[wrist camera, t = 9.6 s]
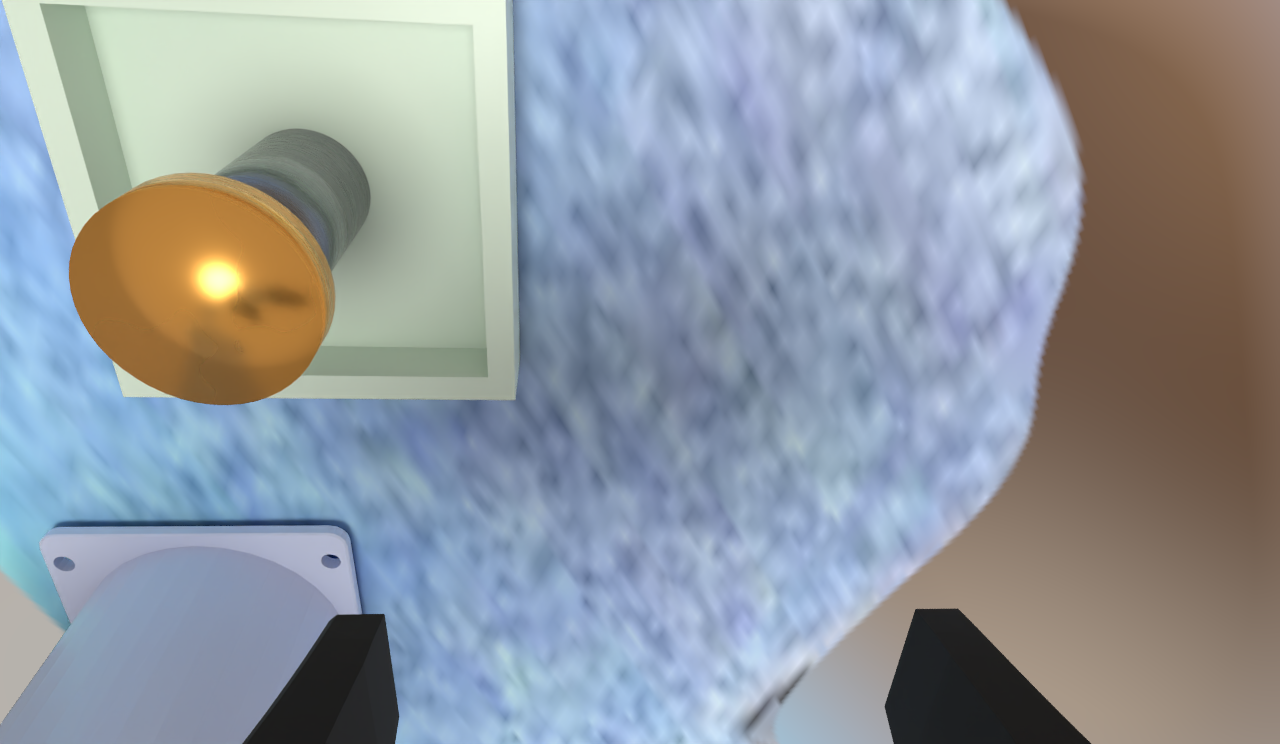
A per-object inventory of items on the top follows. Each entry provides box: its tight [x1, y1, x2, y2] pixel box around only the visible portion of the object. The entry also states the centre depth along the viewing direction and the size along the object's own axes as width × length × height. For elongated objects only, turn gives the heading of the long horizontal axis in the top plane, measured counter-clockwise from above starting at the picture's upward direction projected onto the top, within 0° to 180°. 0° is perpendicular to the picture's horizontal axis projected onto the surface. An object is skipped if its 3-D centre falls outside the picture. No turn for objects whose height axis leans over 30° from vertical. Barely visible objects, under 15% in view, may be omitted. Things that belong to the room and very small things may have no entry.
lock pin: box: [69, 129, 371, 405], centre depth 15 cm, size 4×4×6 cm
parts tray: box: [2, 0, 520, 400], centre depth 17 cm, size 9×9×2 cm
